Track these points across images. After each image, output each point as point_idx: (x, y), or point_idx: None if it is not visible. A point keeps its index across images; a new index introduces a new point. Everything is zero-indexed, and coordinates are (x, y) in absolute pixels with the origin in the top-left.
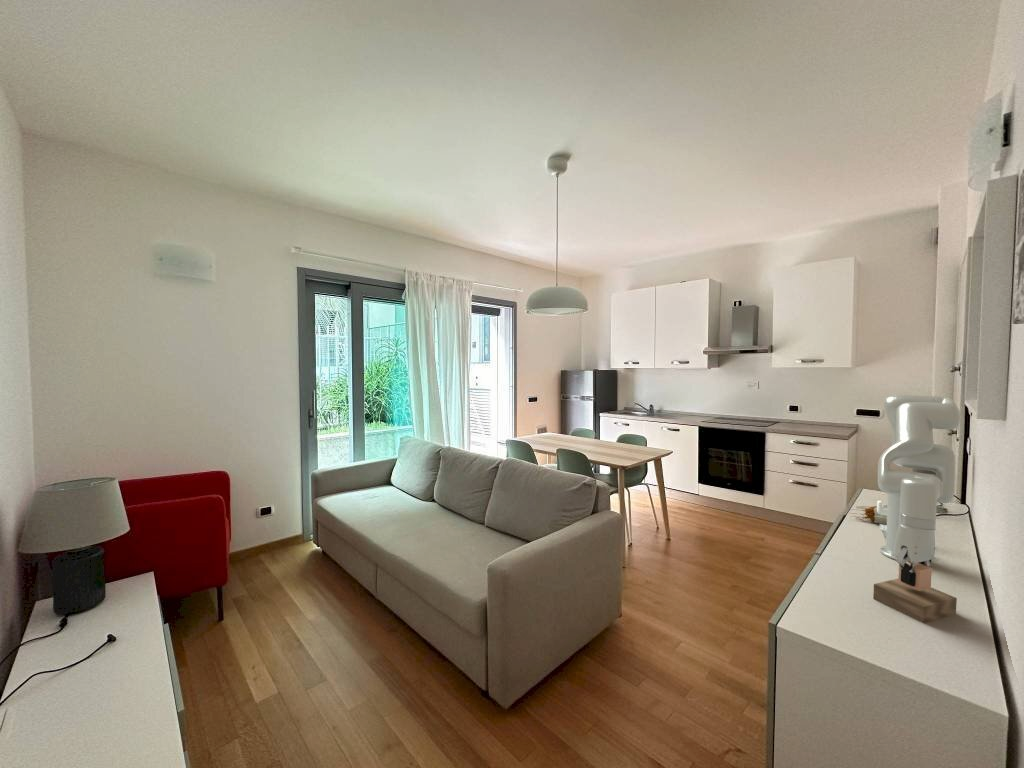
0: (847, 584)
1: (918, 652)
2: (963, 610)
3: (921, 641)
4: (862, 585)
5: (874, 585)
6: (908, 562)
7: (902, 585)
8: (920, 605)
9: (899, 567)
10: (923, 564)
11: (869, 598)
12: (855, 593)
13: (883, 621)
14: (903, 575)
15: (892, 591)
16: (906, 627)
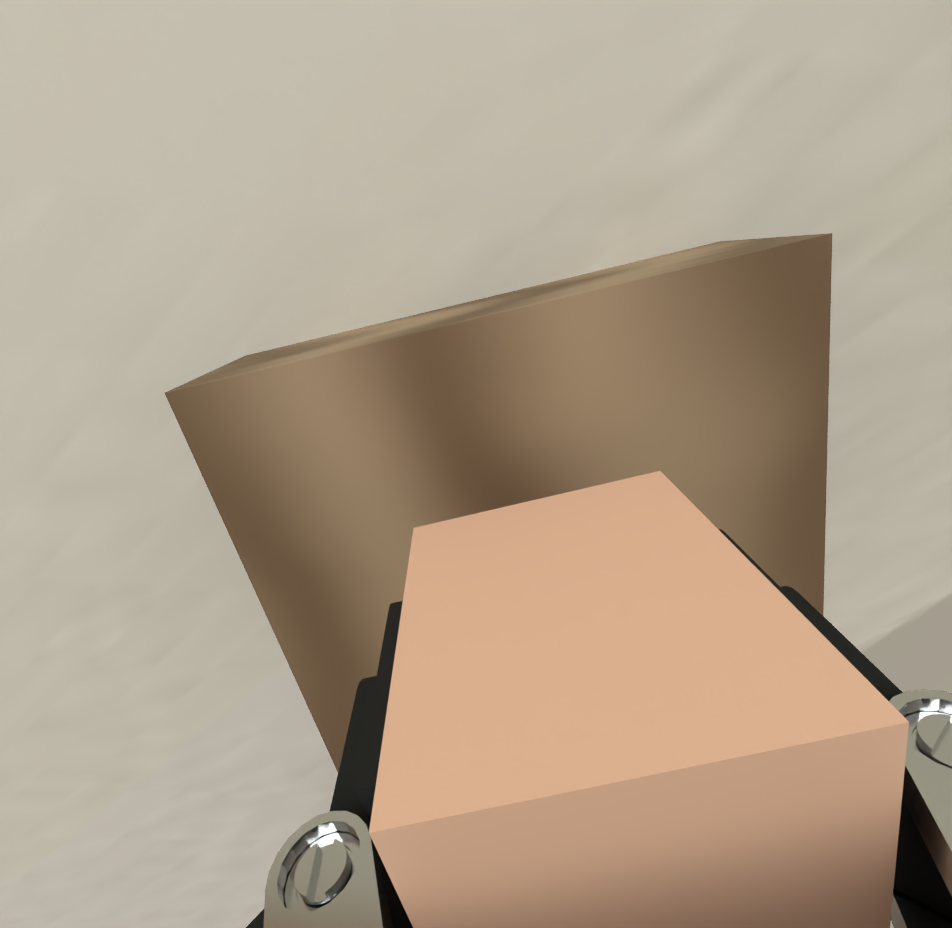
0: (167, 9)
1: (78, 864)
2: (851, 557)
3: (177, 802)
4: (351, 60)
5: (177, 395)
6: (646, 839)
7: (530, 448)
8: (335, 763)
9: (387, 718)
10: (935, 880)
11: (212, 343)
12: (126, 237)
13: (80, 643)
14: (353, 742)
15: (267, 562)
16: (199, 701)
